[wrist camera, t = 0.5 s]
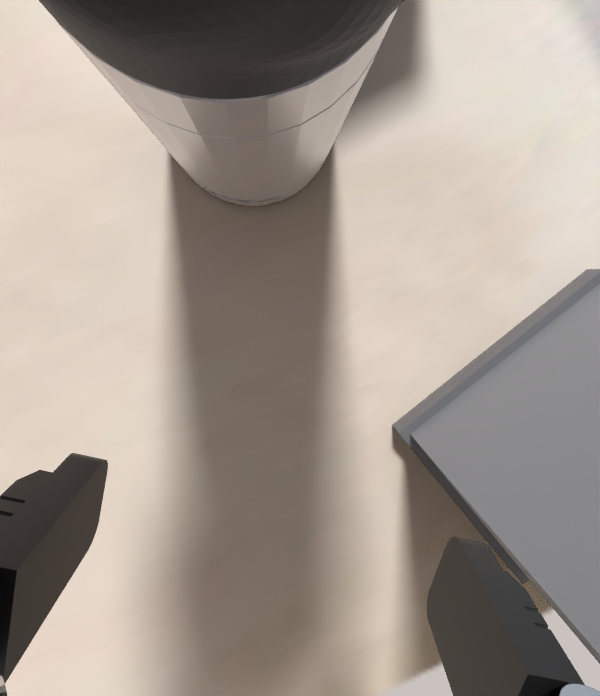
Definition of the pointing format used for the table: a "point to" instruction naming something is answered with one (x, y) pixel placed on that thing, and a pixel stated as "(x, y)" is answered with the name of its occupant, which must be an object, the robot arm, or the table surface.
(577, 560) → the charcoal pedestal
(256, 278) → the table surface
